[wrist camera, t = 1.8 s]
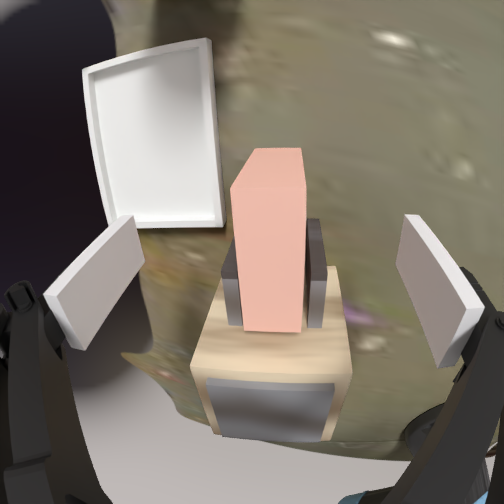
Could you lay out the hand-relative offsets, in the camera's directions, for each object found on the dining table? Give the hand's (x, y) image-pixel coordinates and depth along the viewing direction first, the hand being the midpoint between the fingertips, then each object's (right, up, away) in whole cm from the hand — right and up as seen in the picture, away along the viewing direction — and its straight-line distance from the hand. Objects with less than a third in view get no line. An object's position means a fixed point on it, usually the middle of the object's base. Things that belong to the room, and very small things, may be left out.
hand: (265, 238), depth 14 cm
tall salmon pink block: (+2, +3, +10) cm, 11 cm away
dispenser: (+2, -4, +15) cm, 15 cm away
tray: (-9, +9, +9) cm, 15 cm away
